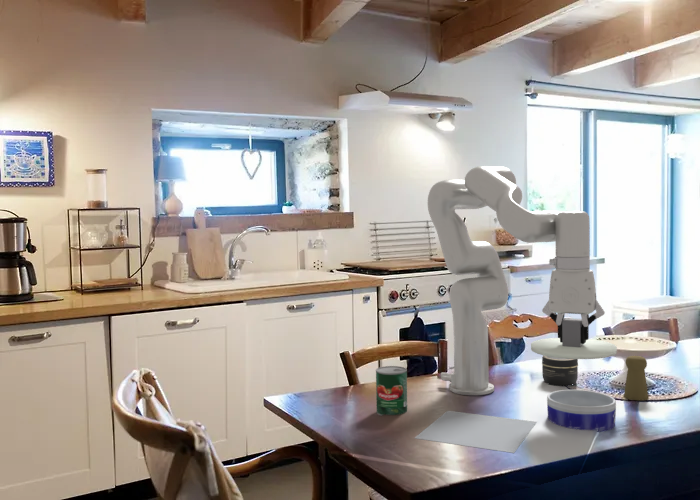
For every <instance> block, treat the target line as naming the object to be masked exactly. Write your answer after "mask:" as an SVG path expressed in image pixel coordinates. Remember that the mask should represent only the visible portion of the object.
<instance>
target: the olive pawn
mask: <svg viewBox="0 0 700 500" xmlns="http://www.w3.org/2000/svg"><path fill="white" fill-rule="evenodd" d="M647 366H648V362H647V359H646V358H645V357H644V356H642V355H641V356H640V355H628V356H626V359H625V367H626V368H627V372H626V380H625V387H624V393H623V394H624V395H623V398H625V397H626V398H625V399H628V400H631V401H647V400H649V399H650V398H649V391H648V385H647V378H646V368H647Z"/></svg>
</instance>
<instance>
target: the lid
mask: <svg viewBox="0 0 700 500" xmlns="http://www.w3.org/2000/svg"><path fill="white" fill-rule="evenodd" d="M582 324H583V323H582V318H570V317H564V320H562V342H560V338H558V337H551V338H547V337H546V338H541V339H537V340H534V341H532V342H531V343H530V350H531V351H532V353H535V354H537V355H540V356H543V355H544V356H549V357H556V358H565V359H578V360H596V359H604V358H610V357H613V356H615V355H617V353H618V348H617V345H616V344H614V343H611V342H608V341H605V340H601V339H600V340H599V339H594V338H589V339H588V340H586V342H585V343H584V344H582V343H581V327H582Z"/></svg>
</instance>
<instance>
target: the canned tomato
mask: <svg viewBox="0 0 700 500" xmlns="http://www.w3.org/2000/svg"><path fill="white" fill-rule="evenodd" d="M407 372H408V369H407V368H406V367H404V366H398V365H387V366H379V367H378V368H376V369H375V384H376V385H375V387H376V389H375V390H376V391H375V393H376V395H375V397H376V399H375V400H376V402H375V403H376V414H377V415H378V416H381V417H382V416H384V415H386V416H394V415H395V416H396V415H397V416H398V415H403V414H405V413H407V412H408V373H407Z"/></svg>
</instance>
